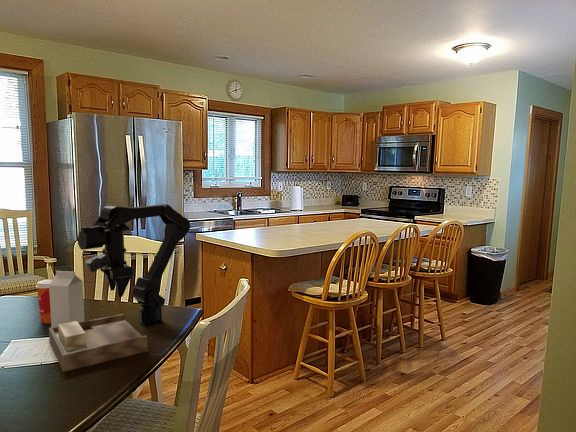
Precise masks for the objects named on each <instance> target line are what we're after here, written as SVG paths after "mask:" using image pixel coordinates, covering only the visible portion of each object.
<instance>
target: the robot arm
mask: <svg viewBox="0 0 576 432" xmlns="http://www.w3.org/2000/svg"><path fill="white" fill-rule="evenodd" d="M156 217H159V218H160V220H161V222H162V223H163V224H164V225H165V227H164V238H163V240H162V243H161V245H160V246H159V249H158V250H157V252H156V254H155V257H154V259H153V261H152V263H151V265H150V267H149V269H148V270H147V273H146V275H144V276H143V277H140V276H139V277H138V278H137V279H136V281H135V284H134V285H133V286H132V289H133V290H132V296H133V298H134V300H136V301H137V304H139V305H140V309H139V310H138V312H139V313H138V315H139V317H138V318H139V320H138V321H139V322H140V323H141V324H142V325H143V326H144V327H149V326H154V325H158V324H163V323H164V320H163V319H162V318H163V317H162V315H163V314H162V312H163V311H162V307H164V305H165V303H166V299H165V298H164V297H163V296H162V295H161V294H160V291H161V279H162V277H163V275H164V273H165V270H166V268H167V266H168V263H169V262H170V260H171V258H172V256H173V253H174V252H175V249H176V247H177V245H178V243H180V242H181V241H182V240H183V239H184V238H185V237H186V236H187V234H188V233H189V231H190V229H191V223H190V220H189V219H188V218H187V217H184V216H183V215H182V214H181V213H179V212H178V211H176V210H175V209H174V208H173V207H172V206H170V205H169V204H166V203H165V204H164V203H159V204H151V205H143V206H132V207H127V206H126V207H125V206H119V205H118V206H115V205H106V206H103V207H102V209H101V211H100V215H99V216H98V218H97V219H96V221H95V222H94V224H93V226H81V227H80V231H79V232H78V236H77V245H78V247H79V249H80V250H81V251H84V250H85V251H86V250H93V249H99V248H102V249H101V250H102V252H101V253H100V254H98V255H95V256H93V257H91V258H89V259H86V260H85V261H84V263H85V266H87V270H88V271H89V272H90V273H95V272H97V271H98V270H99V271H101V272H102V273H103V274H105V276H106V280H107V283H108V285H109V289H110V291H115V289H116V292H117V296H118V297H119V298H122V297H123V296H124V294H125V291H126V290H127V287H128V285H129V283H130V281H131V278H133V276H134V275H135V269H134V268H133V267H131V266H130V265H128V263H127V261H126V260H125V257H126V255H125V253H127V248H125V233H124V231H130V230H131V227H129V226H128V225H127V224H128V223H129V222H131V221H134V220H137V219H147V218H156ZM126 223H127V224H126ZM103 247H104V248H103Z"/></svg>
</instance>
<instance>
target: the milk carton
mask: <svg viewBox="0 0 576 432" xmlns="http://www.w3.org/2000/svg"><path fill="white" fill-rule="evenodd" d="M55 272H56V273H55V275H54V277H53V278H52V279H53V280H52V281H51V283H50V284H49V292H50V311H51V323H50V326H51V327H56V326H58V324H63V323H68V322H74V321H77V322H83V321H85V308H84V307H85V306H84V305H85V304H84V285H83V283H84V281H83V280H82V279H81V278H80V277H78V276H77V275H76V271H68V270H66V271H65V270H64V271H63V270H55ZM51 327H50V328H51Z"/></svg>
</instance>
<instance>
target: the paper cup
mask: <svg viewBox="0 0 576 432" xmlns="http://www.w3.org/2000/svg"><path fill="white" fill-rule="evenodd" d="M52 280H53V278H52V279H51V278H50V279H43V280H39V281H37V282H36V285H35V288H36V292H37V298H38V299H37V300H38V308H39V316H40V322H41V323H42V324H51V311H50V292H49V284H50V283H51V281H52Z"/></svg>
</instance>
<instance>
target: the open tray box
mask: <svg viewBox="0 0 576 432" xmlns="http://www.w3.org/2000/svg"><path fill="white" fill-rule="evenodd" d="M78 323H79V325H80V326H81V328H82V329H83V330H84V332H85V335H86V347H83V348H79V349H74V350H70V351H66V350H65V348H64V346H63V344H62V342H61V341H60V339H59V331H58V326H56V327H48V337H49V338H48V339H49V341H48V342H49V344H50V346H51V348H52V351H53V353H54V355H55V357H56V360H57V359H58V360H57V361H58V364H59V365H60V368H61V370H62V372H63V373H64V372H67V371H68V372H69V371H73V370H76V369H77V370H78V369H81V368H85V367H88V366H93V365H96V364H100V363H105V362H109V361H113V360H117V359H121V358H125V357H129V356H135V355H138V354H141V353H145V352H148V351H149V350H148V336H147V335H142V334H141V333H140V332H138V331H137V330H136V329H135V328H134V327H133V326H132V325H131V324H130V323H129V322H128V321H127V320H126V319H125V314H124V313H120V314H117V315H111V316H105V317H99V318H95V319H89V320H84V321H83V322H78Z"/></svg>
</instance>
